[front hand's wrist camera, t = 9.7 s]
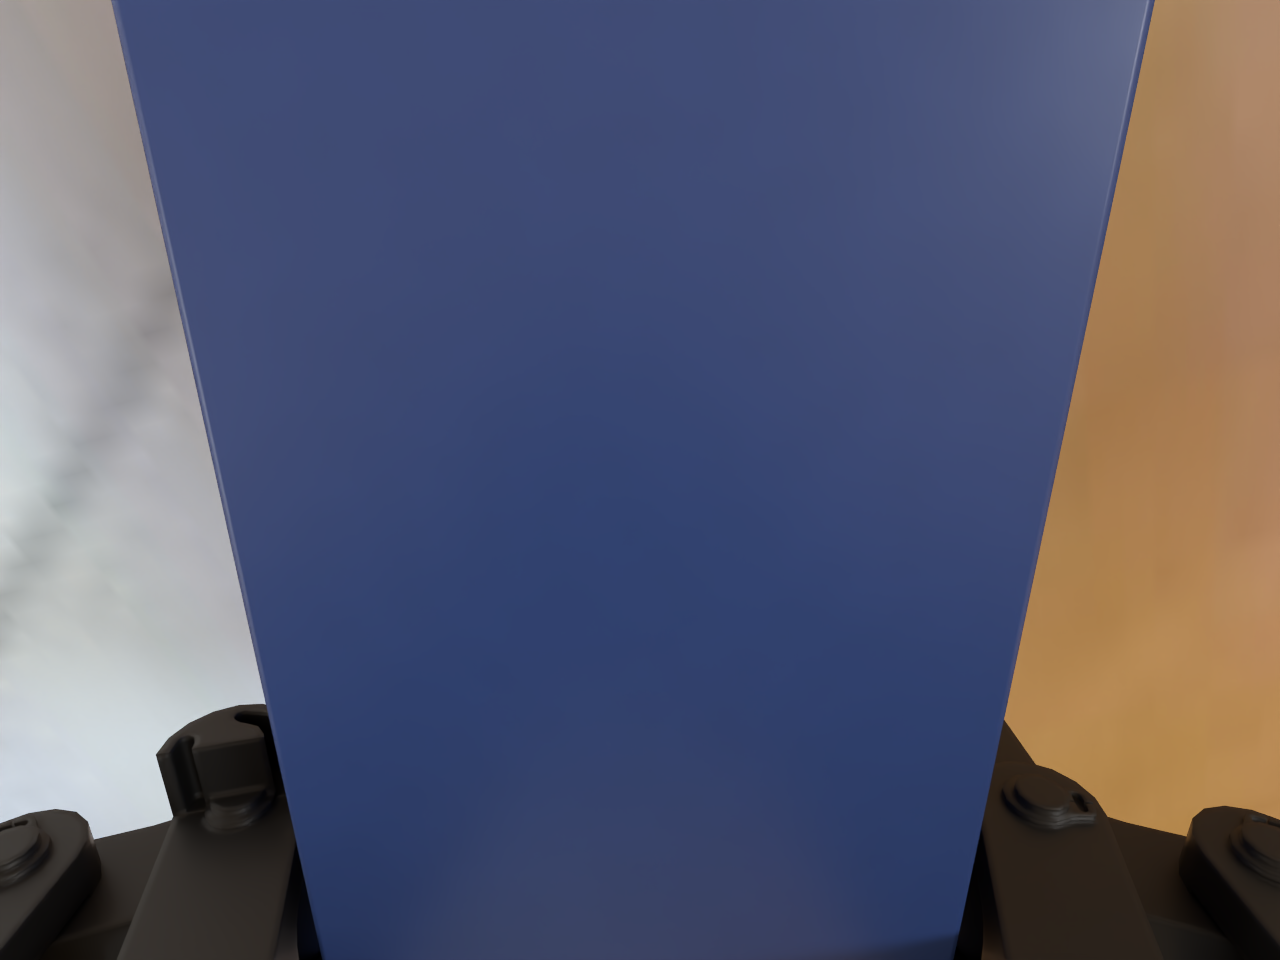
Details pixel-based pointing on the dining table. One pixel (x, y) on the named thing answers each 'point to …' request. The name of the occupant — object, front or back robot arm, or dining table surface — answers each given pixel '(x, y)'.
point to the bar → (635, 440)
